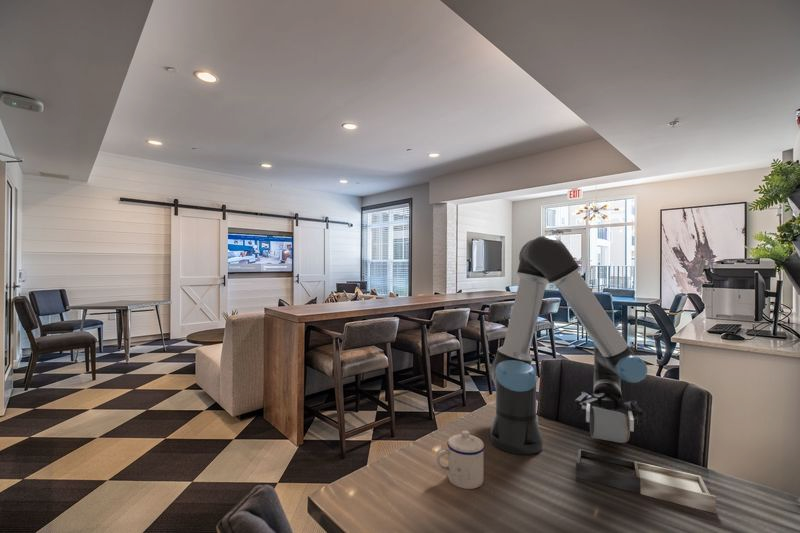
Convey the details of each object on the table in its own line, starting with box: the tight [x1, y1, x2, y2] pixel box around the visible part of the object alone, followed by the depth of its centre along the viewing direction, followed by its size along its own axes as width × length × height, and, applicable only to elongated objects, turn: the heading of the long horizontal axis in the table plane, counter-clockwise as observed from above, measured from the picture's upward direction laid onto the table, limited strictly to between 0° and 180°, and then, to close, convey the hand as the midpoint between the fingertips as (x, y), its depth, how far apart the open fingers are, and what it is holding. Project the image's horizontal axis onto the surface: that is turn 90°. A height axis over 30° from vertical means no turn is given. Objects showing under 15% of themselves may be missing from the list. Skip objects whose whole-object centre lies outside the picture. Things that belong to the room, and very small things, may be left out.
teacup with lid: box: [435, 430, 485, 490], centre depth 87 cm, size 12×9×12 cm
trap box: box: [575, 448, 717, 514], centre depth 87 cm, size 27×13×4 cm, turn 60°
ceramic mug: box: [589, 406, 631, 444], centre depth 91 cm, size 11×8×8 cm
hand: (609, 421), depth 86 cm, fingers closed on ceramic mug, 9 cm apart
